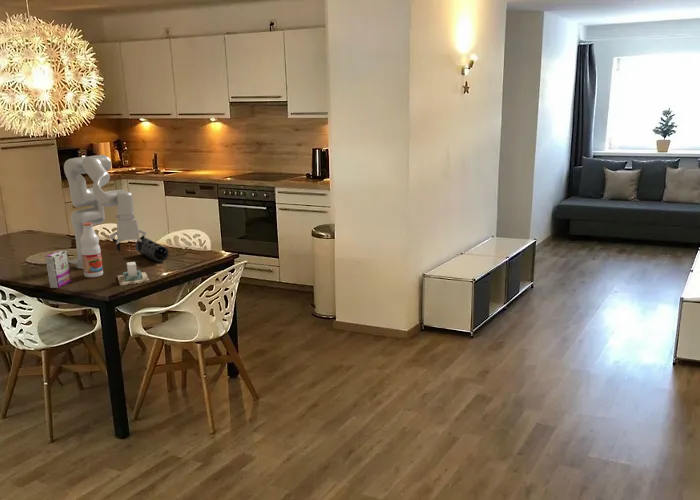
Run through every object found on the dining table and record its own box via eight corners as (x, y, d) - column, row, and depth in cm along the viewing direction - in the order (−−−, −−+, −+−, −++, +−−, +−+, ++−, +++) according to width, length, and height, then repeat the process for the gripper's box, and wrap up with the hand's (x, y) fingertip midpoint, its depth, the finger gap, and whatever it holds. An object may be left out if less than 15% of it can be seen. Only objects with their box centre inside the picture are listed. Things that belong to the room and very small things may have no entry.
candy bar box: (62, 281, 325) (58, 250, 321) (71, 281, 324) (67, 250, 320) (49, 288, 314) (44, 256, 310) (58, 288, 313) (54, 256, 309)
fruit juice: (93, 272, 341) (87, 220, 334) (107, 273, 338) (101, 221, 331) (80, 276, 332) (73, 224, 325) (94, 278, 329) (88, 225, 322)
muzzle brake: (153, 265, 352) (151, 247, 350) (134, 255, 374) (133, 238, 371) (170, 262, 358) (168, 244, 356) (150, 252, 379) (149, 235, 377)
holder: (120, 285, 316) (119, 279, 315) (117, 277, 330) (116, 271, 330) (149, 281, 321) (148, 276, 321) (145, 273, 336) (145, 268, 335)
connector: (129, 279, 322) (127, 265, 320) (128, 276, 328) (126, 262, 326) (137, 278, 324) (135, 264, 322) (136, 275, 329) (134, 261, 327)
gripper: (108, 219, 311) (111, 253, 316) (145, 216, 318) (148, 250, 322) (107, 216, 318) (110, 250, 322) (143, 214, 325) (146, 246, 329)
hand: (129, 250), depth 322 cm, fingers open, 9 cm apart
